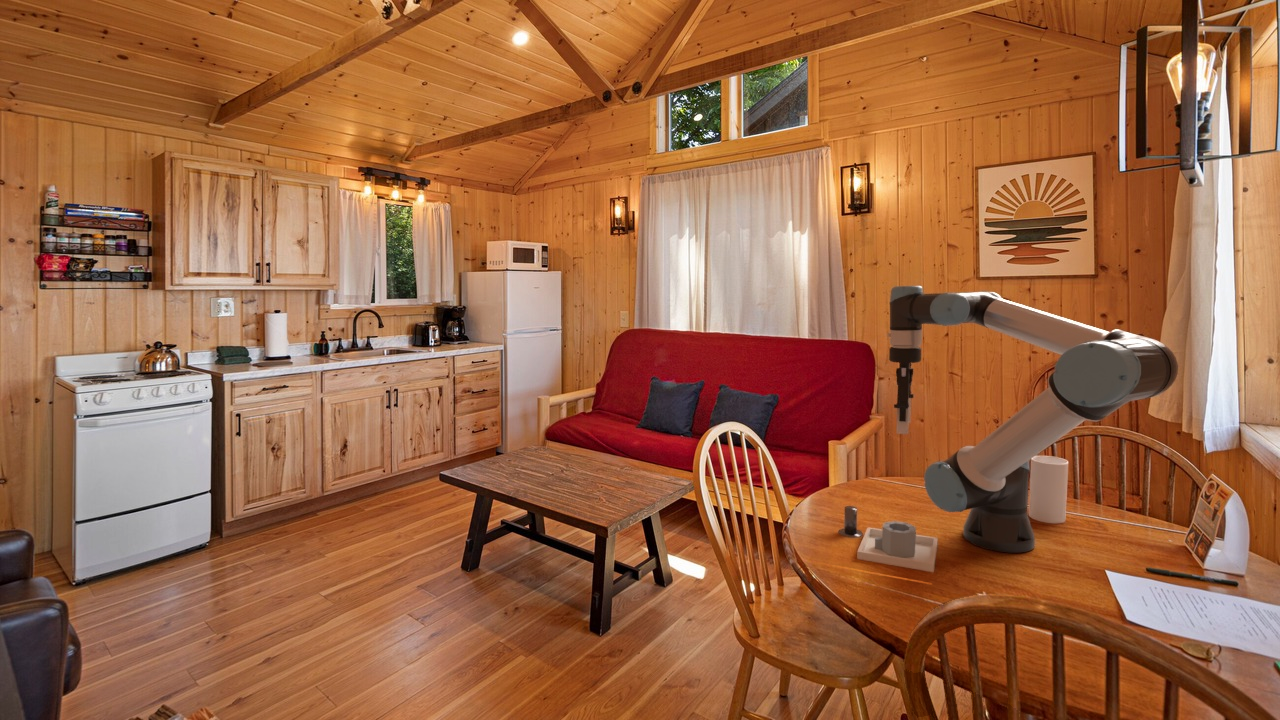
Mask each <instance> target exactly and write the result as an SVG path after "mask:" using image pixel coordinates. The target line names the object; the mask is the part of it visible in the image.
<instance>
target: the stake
mask: <svg viewBox="0 0 1280 720" xmlns="http://www.w3.org/2000/svg"><path fill="white" fill-rule="evenodd" d="M857 525H858V508H857V507H856V506H854V505H845V507H844V525H843V526H844V528H841V529H839V530H838V534H839V535H840V536H843V537H846V538H851V539H855V538H861V537H864V533H863V532H862V531H861V530H859V529H858V526H857Z"/></svg>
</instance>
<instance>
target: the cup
mask: <svg viewBox="0 0 1280 720" xmlns="http://www.w3.org/2000/svg"><path fill="white" fill-rule="evenodd" d="M1068 476H1069V460H1067V459H1065V458H1062V457H1058V456H1053V455H1052V456H1051V455H1036V456H1034V457H1033V458H1031V459H1030V473H1029V495H1028V518H1031V519H1032V520H1035V521H1038V522H1041V523H1047V524H1062V523H1065V522H1066V517H1067V516H1066V515H1067V496H1068V495H1067V494H1068V480H1069V479H1068V478H1069V477H1068Z"/></svg>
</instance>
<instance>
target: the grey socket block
mask: <svg viewBox="0 0 1280 720" xmlns="http://www.w3.org/2000/svg"><path fill="white" fill-rule="evenodd" d="M916 527H917V526H914V525H912V524H910V523H908V522H904V521H895V520H892V521H887V522H885V521H884V523H883V525H882V529H883V532H882V538H880V537H876V538H875V549H879V550H882V551H883V552H884V553H886V554H888V555H889V556H895V557H901V558H909V557H914V556H915V548H916V535H917V534H916V533H917V528H916Z"/></svg>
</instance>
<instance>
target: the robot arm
mask: <svg viewBox="0 0 1280 720" xmlns="http://www.w3.org/2000/svg"><path fill="white" fill-rule="evenodd" d="M889 297H890V298H889V333H887V334H886V336H887V338H889V345H890V346H891V347H890V348H889V350H888V351H889V352H888V353H889V355H888V356H889V359H888V360H889V361H890V362H891V363H898V364H899V367H897V368H896V369H895V375H896V385H897V399H896V404H895V403H894V404H893V408H894V409H896V434H897V435H899V434H900V435H909V424H911V416H912V415H911V411H912V409H911V407H912V405H911V404H912V400H911V399H914V393H912V390H911V387H912V382H913V377H914V368H912V364H914V363H915V364H917V363H920V362H921V360H922V348H921V346H922V343H923V339H922V338H923V325H935V326H936V325H937V326H938V325H939V326H944V327H947V326H958V325H961V324H971V323H972V324H976V325H979V326H981V327H984V328H987V329H990V330H993V331H995V332H998V333H1001V334H1004V335H1006V336H1008V337H1009V336H1010V337H1012V338H1014V339H1017V340H1020V341H1022V342H1026V343H1028V344H1031V345H1033V346H1036V347H1038V348H1041V349H1044V350H1047V351H1050V352H1052V353H1055V354H1058V355H1061V356H1060V357H1059V358H1058V359H1057V361H1056V363H1055V365H1054V372H1052V373H1051V374H1050V375H1049V376H1048V378H1047V386H1048V387H1047V388H1046V389H1044V390H1043V391H1042V392H1040V393H1039V394H1038V395H1037V396H1036V397H1034V398H1033V399H1032V400H1031V401H1029V402H1028V403H1027V404H1026V405H1025V406H1024V407H1022V408H1021V409H1020V410H1019V411H1017V412H1016V413H1014V414H1013V415H1012V416H1011V417H1010V418H1008V419H1007V420H1006V421H1005V422H1003V423H1002V424H1000V425H999V426H998V427H997V428H996V429H995V430H994V431H992V432H991V433H989V435H987V436H986V437H985V438H983V439H982V440H981V441H980V442H978V443H977V444H976V445H975V446H973V445H965V446H963V447H961V448H960V449H959V450H957V451H956V452H955V453H954V454H952V455H951V456H950V457H949V458H947V459H945V460H943V461H939V460H938V461H936V462H934V463H931V464H930V465H928V466H927V468H926V469H925V471H924V476H923V477H924V478H923V479H924V480H923V481H924V489H925V490H926V493H927V496H928V497H929V499H930V500H931V502H932V503H933V504H934V505H935V506H936V507H937V508H938V509H940V510H943V511H944V512H946V513H956V512H957V513H961V512H964V511H966V510H970V511H969V513H968V515H967V517H966V520H965V522H964V525H963V534H962V535H963V537H964V539H965V540H966V541H967V542H968V543H971V544H973V545H974V546H978V547H979V548H983V549H986V550H990V551H994V552H999V553H1001V552H1002V553H1009V554H1012V553H1013V554H1014V553H1015V554H1018V553H1019V554H1020V553H1026V552H1029V551H1032V550H1033V549H1035V545H1036V544H1035V543H1036V541H1035V540H1036V539H1035V538H1036V537H1035V534H1034V530H1033V527H1032V525H1031V524H1032V523H1031V521H1030V517H1029V514H1028V507H1029V488H1030V472H1031V467H1030V461H1031V458H1033V457H1034V456H1038V454H1040V453H1041V452H1043V451H1044V450H1046V449H1047V448H1048V447H1050V446H1051V445H1052V444H1054V443H1056V441H1058V440H1059V439H1061V438H1062V437H1064V436H1066V435H1067V434H1068V433H1069V432H1072V430H1074V429H1076V428H1077V427H1078V426H1079V425H1081V424H1082V423H1084V422H1085V421H1090V422H1100V421H1102V420H1103V419H1105V418H1107V417H1108V416H1109V415H1111V414H1112V413H1114V412H1115V411H1117V410H1118V409H1120V408H1121V407H1122V406H1124V405H1126V404H1128V403H1129V402H1132V401H1138V400H1144V399H1145V400H1146V399H1150V398H1154V397H1157V396H1159V395H1160V394H1162V393H1164V392H1166V391H1167V390H1169V388H1170V387H1172V385H1173V384H1174V383H1175V381H1176V379H1177V377H1178V373H1179V363H1178V360H1177V357H1176V355H1175V354H1174V352H1173V351H1172V350H1171V349H1170V348H1169V347H1168V346H1167V345H1166V344H1164V343H1162V342H1160V341H1159V340H1156V339H1154V338H1150V337H1146V336H1143V335H1139V334H1135V333H1132V332H1127V331H1124V330H1121V329H1113V330H1111V331H1107V330H1104V329H1101V328H1098V327H1094V326H1092V325H1087V324H1084V323H1082V322H1078V321H1074V320H1072V319H1068V318H1066V317H1062V316H1059V315H1055V314H1053V313H1049V312H1046V311H1042V310H1040V309H1036V308H1033V307H1030V306H1026V305H1024V304H1020V303H1017V302H1013V301H1012V300H1011V301H1010V300H1007V299H1004V298H1002V296H1001V295H1000V294H998V293H996V292H994V291H985V290H980V291H979V290H978V291H966V292H965V291H964V292H939V293H937V292H936V293H934V292H933V293H925V292H924V291H923V287H922V286H921V285H901V286H899V285H896V286H893V287H892V288H891V289H890V295H889Z"/></svg>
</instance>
